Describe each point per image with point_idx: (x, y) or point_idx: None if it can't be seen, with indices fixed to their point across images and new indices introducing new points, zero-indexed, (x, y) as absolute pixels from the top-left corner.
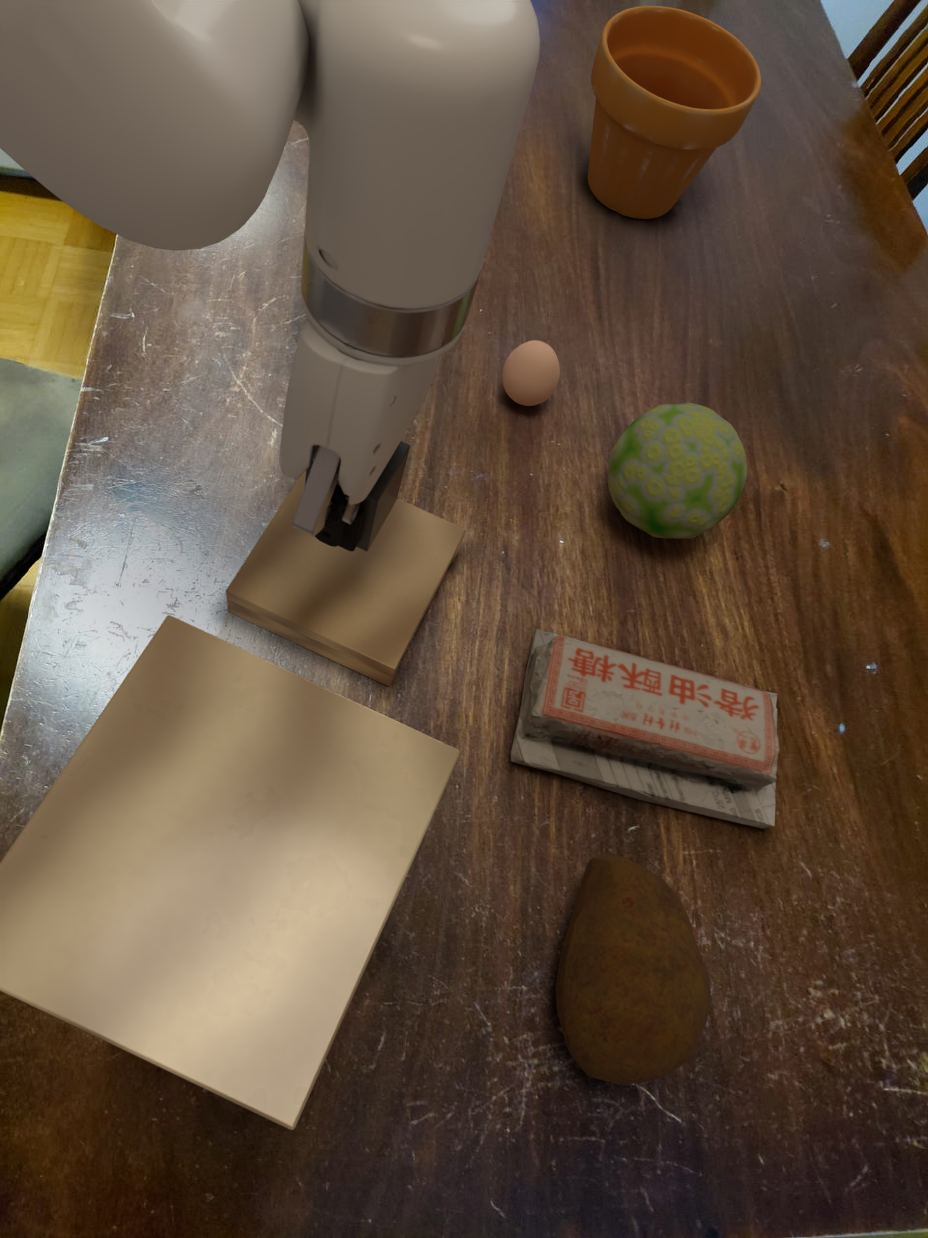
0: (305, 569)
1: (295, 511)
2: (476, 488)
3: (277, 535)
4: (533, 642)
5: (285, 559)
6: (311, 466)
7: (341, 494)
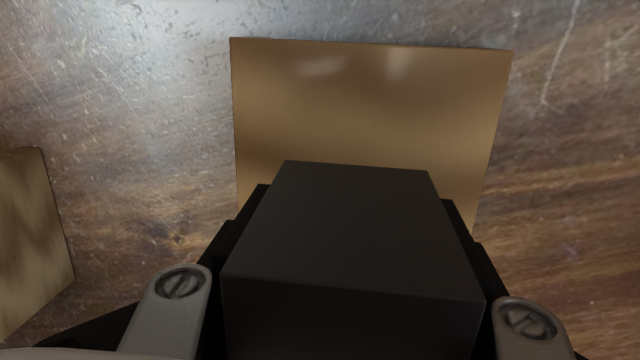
0: (312, 127)
1: (400, 72)
2: (549, 252)
3: (347, 65)
4: None
5: (315, 94)
6: (226, 288)
7: (222, 346)
